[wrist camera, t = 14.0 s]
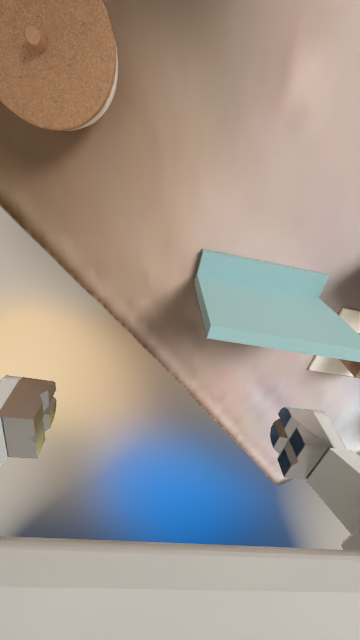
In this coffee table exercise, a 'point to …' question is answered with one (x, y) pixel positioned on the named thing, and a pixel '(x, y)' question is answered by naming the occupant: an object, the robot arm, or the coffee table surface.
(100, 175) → the coffee table surface
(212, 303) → the screen
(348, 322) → the pad
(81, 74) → the lidded jar
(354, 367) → the brown block
